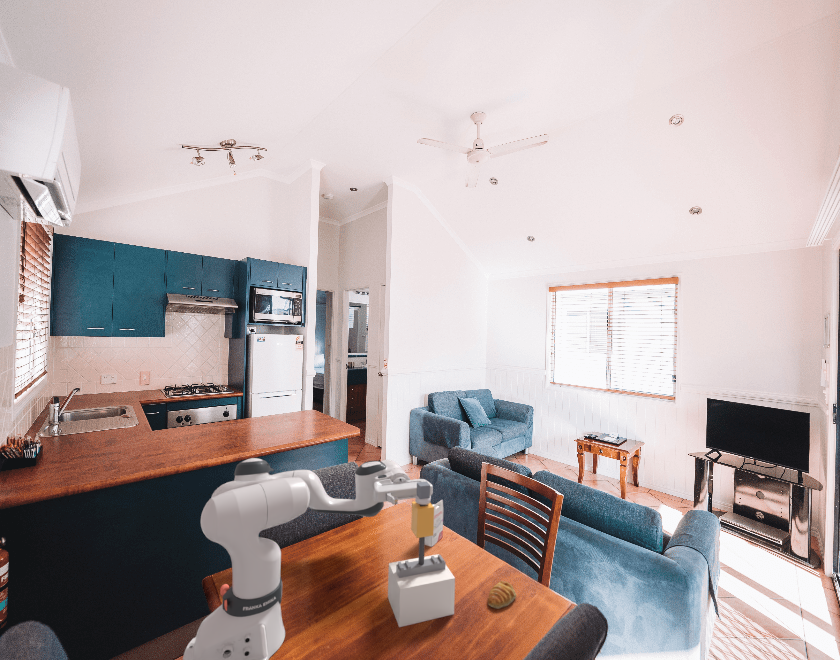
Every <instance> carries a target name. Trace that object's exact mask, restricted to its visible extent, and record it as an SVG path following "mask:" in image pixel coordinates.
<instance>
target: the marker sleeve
mask: <svg viewBox="0 0 840 660" xmlns="http://www.w3.org/2000/svg"><path fill="white" fill-rule="evenodd" d="M410 523H411V525H410V527H411V528H410V530H411V531H412V533H413V535H414V536H415V538H416V539H419V538H421V537H427V536H433V529H434V506H433V504H432V503H431V502H430V503H429V504H426V506H422V507H420V504H418V503H416V502H415V500H414V501H411V522H410Z"/></svg>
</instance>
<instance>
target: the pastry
mask: <svg viewBox="0 0 840 660" xmlns="http://www.w3.org/2000/svg"><path fill="white" fill-rule="evenodd" d="M515 599H517V593H516V591H515V589H514V587H513V585H512V584H511V583H509V582H508V581H503V580H500V581H499V582H498V583H496V584H494V586H493V587H491V589H490V591H489V593H488V597H487V604H488V606H489V607H491V608H494V609H497V610H500V609H501V608H505V607H508V606H509V605H510V604H512V603H513V602H514V601H515Z"/></svg>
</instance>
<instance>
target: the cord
mask: <svg viewBox="0 0 840 660" xmlns="http://www.w3.org/2000/svg"><path fill="white" fill-rule="evenodd" d="M427 481H428V480H427ZM427 481H426V482H417V495H416V497H415V498H414V499H415V500H414V501H415V502H416V503H418V504H420V507H422V506H426V504H429V503H431V499H432V495H431V496H430V485H429V484H428V482H429V481H428V482H427ZM425 546H426V545H425V537H421V538H418V558H419V561H418V564H419V565H423V564H424V557H425Z"/></svg>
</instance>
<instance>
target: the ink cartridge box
mask: <svg viewBox="0 0 840 660" xmlns="http://www.w3.org/2000/svg"><path fill="white" fill-rule="evenodd" d="M432 505H433V506H434V529H433V536H427V537H425V545H424V546H427V547H434V546H435V545H436V544H437V543H438V542H440V540H441V539H442V538H443V537H444V500H443V499H441V500H440V501H437V503H434V504H432Z"/></svg>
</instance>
